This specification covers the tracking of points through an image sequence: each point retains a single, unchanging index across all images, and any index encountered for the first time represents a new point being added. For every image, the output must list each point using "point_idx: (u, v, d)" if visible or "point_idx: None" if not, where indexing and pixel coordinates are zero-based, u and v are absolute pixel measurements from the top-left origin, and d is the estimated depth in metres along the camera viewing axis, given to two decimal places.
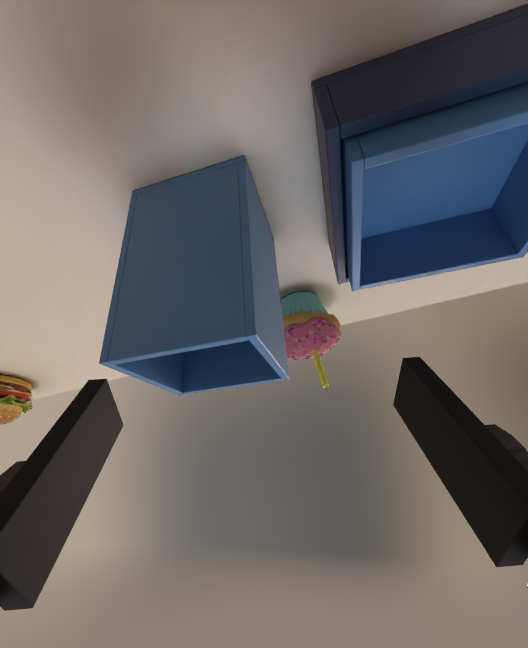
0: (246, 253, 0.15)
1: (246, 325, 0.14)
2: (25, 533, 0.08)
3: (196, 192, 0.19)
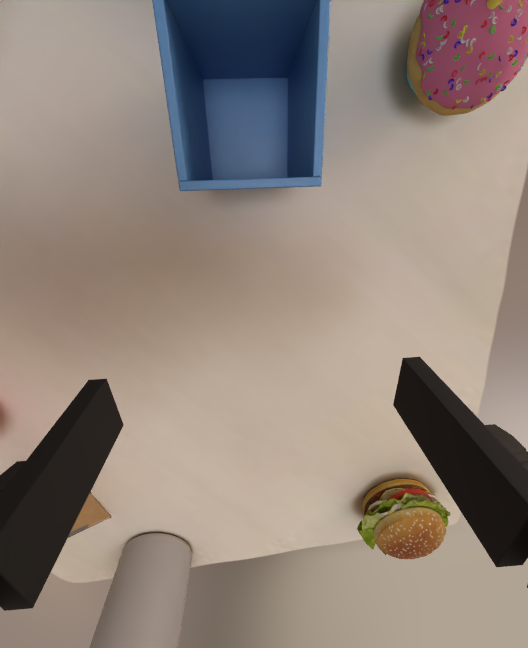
0: None
1: None
2: (25, 533, 0.08)
3: None
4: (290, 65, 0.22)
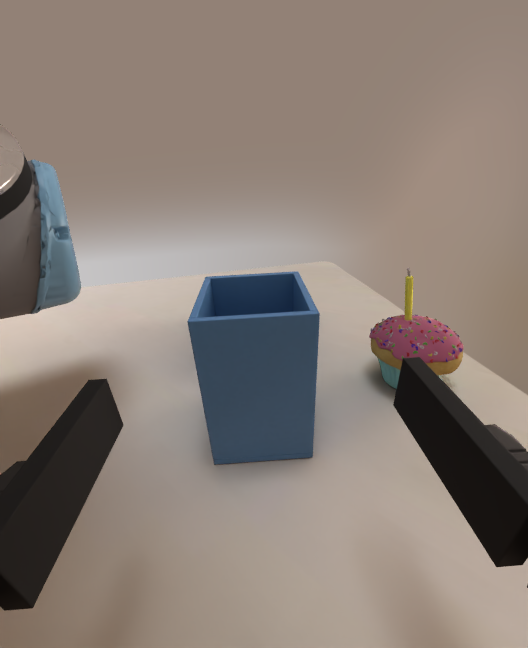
0: None
1: None
2: (26, 533, 0.08)
3: None
4: None
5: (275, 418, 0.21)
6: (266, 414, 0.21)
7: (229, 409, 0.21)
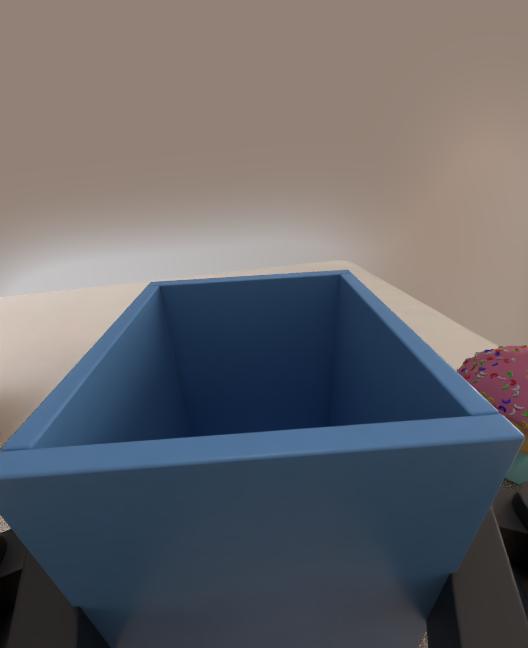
0: None
1: None
2: None
3: None
4: None
5: None
6: None
7: None
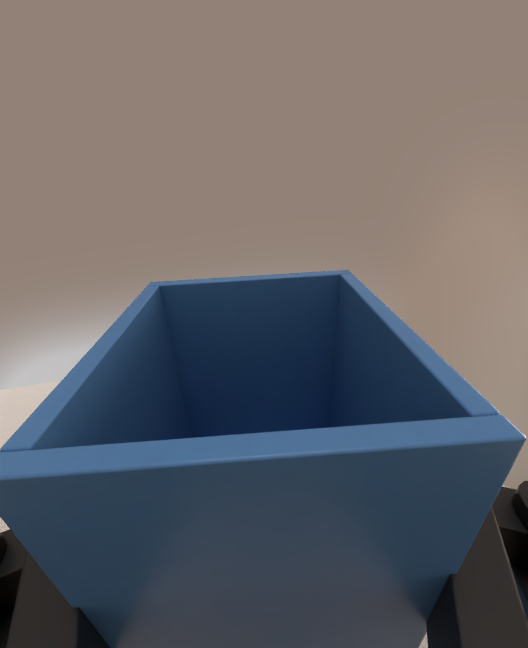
0: None
1: None
2: None
3: None
4: None
5: None
6: None
7: None
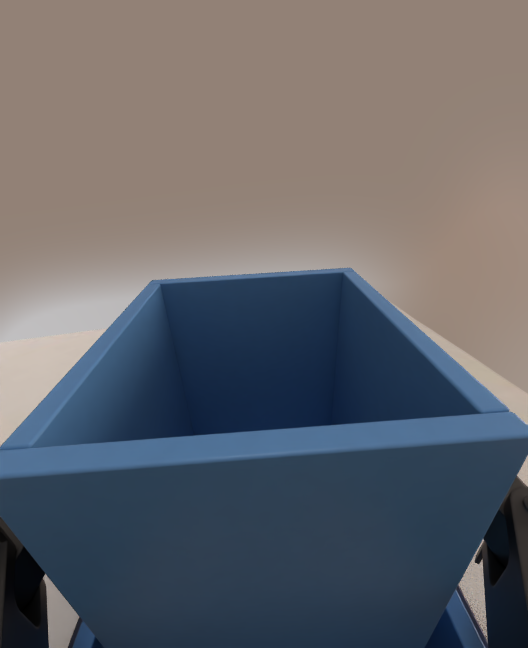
0: None
1: None
2: None
3: None
4: None
5: None
6: None
7: None
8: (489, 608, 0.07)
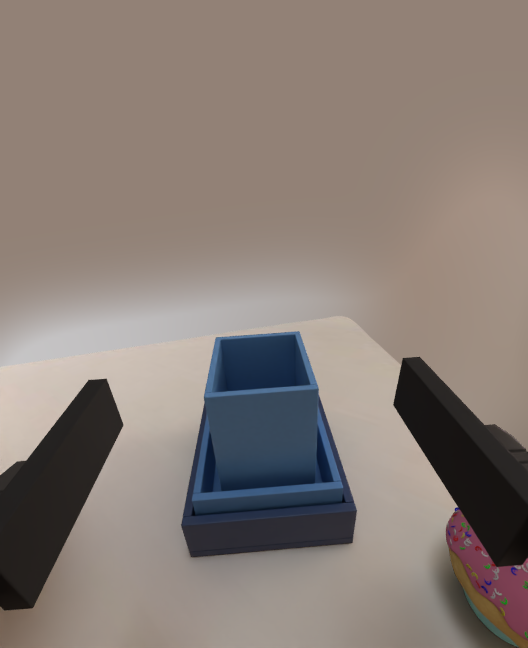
0: None
1: None
2: (26, 533, 0.08)
3: None
4: None
5: (280, 472, 0.24)
6: (272, 468, 0.24)
7: (239, 465, 0.23)
8: None
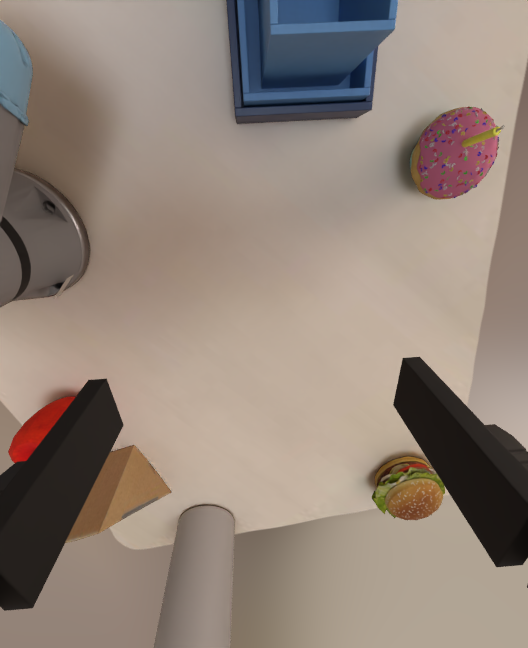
0: None
1: None
2: (26, 533, 0.08)
3: (259, 9, 0.26)
4: None
5: (320, 72, 0.26)
6: (314, 71, 0.26)
7: (285, 70, 0.25)
8: None
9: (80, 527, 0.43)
